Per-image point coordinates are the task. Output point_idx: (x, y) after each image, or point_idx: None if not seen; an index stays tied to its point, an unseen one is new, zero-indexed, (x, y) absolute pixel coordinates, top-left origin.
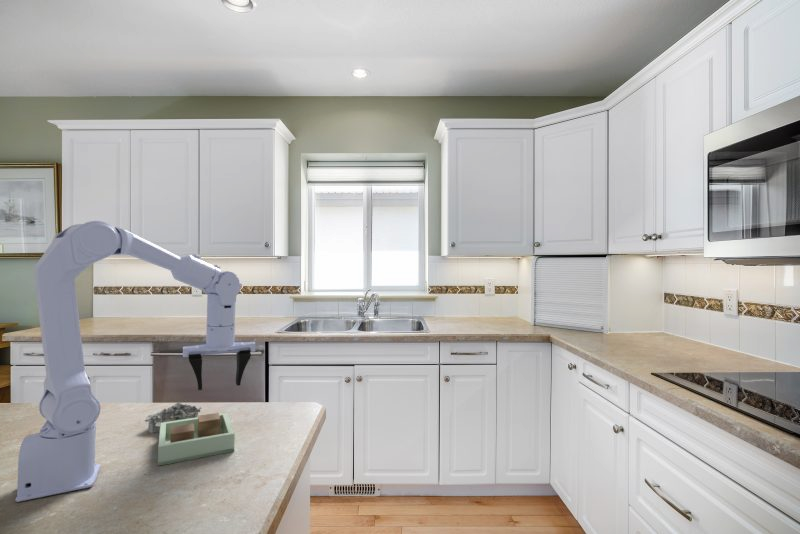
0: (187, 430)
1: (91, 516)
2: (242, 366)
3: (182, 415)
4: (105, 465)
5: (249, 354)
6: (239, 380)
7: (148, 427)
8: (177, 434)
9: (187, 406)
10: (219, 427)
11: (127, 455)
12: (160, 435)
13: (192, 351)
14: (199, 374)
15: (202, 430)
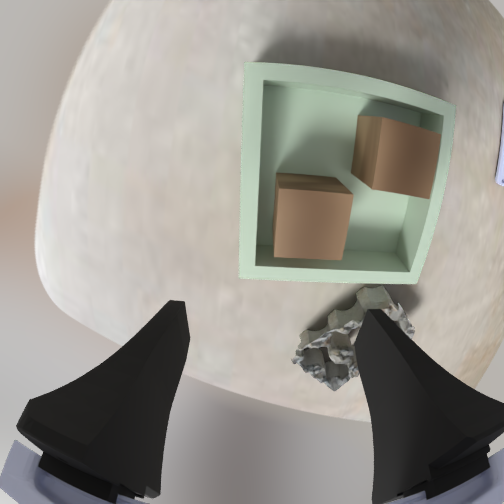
0: (399, 133)
1: (486, 12)
2: (109, 375)
3: (348, 329)
4: (488, 182)
5: (18, 427)
6: (163, 314)
7: (399, 325)
8: (423, 129)
9: (318, 376)
10: (279, 179)
11: (460, 207)
12: (443, 187)
13: (489, 490)
14: (420, 364)
15: (333, 183)
